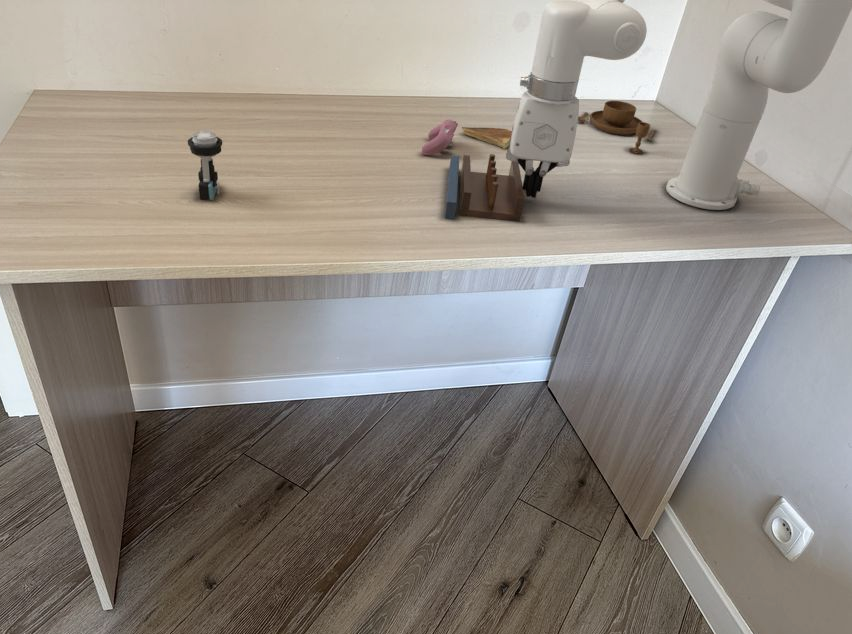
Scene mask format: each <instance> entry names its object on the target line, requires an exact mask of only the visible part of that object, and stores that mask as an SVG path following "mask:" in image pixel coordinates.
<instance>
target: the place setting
mask: <svg viewBox="0 0 852 634" xmlns="http://www.w3.org/2000/svg"><path fill="white" fill-rule="evenodd" d="M636 112H637V107H636V106H635V105H633V104H631V103H629V102H625V101H622V100H608V101H606V102H605V103H604V106H603V109H602V110H595V111H592V112H591V113H590V114H589V113H588V112H584V113H583V114H582V115H581V116H578V122H584V121H585V120H586V118H585V117H586V116H587V115H588V114H589V121H590V123H591V124H592V126H594V127H595V128H596V129H598V130H600V131H602V132H605V133H609V134H613V135H621V136H629V135H634V134H635V136H636V137H637V139H636V142H635V144H634V145H635V147H631V148H629V149H628V151H629V152H630V153H631V154H634V155H635V154H636V155H642V154H643V153H644V151H643V150H642V149H640V146H641V145H642V140H643V139H644V138H645V140H646V141H650V142H653V139H652V137H653V136H654V135H655V132H656V130H655V129H653V130H652V131H651V133H650V135H649V136H648V133H649V131H650V128H651V124H650V123H649V122H646V121H645V122H644V121H643V120H641V119H640V118H638V116H635V115H636ZM647 136H648V137H647ZM646 137H647V138H646Z"/></svg>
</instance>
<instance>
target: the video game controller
mask: <svg viewBox="0 0 852 634" xmlns="http://www.w3.org/2000/svg"><path fill="white" fill-rule="evenodd" d="M458 125H459V123H458V122H457V121H456V120H454V119H450V118H448V119H445V120H444V121H442V122H441V124H439V125H437V126H435V127H433V128H432V129H431V130H430V131H429V132H428V135H427V137H428V139H429V141H428V142H426V143H425V144H424V145H423V146H422V147H421V153H422V154H423V155H424V156H434V155H436V154H438V153H440V154H442V152H444V150H446V149H447V147H448V146H449V147H451V146H454V145H453V144H454V140H453V138H454V136H455V132H456V129H457V128H458Z"/></svg>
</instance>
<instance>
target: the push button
mask: <svg viewBox="0 0 852 634" xmlns="http://www.w3.org/2000/svg"><path fill="white" fill-rule="evenodd" d="M187 145H188V147H189V150H190V153H191V154H193V155H194V156H196V157H198V158H200V168H199V169H200V170H199V171H198V173H197V175H198V181H199V182H198V194H199V195H198V196H199V200H207V201H210V200H211V201H213V200H214V198H215V194H216V192H217V195H219V193H220V185H219V183H217V181H218V179H219V177H218V175H219V174H218V172H217V171H215V165H214V159H213V158H214V157H216V156H217V155H219V154H220V153H221V152H222V146H223V140H222V138H220V137H218V136H217V134H216V133H215V132H213V131H209V130H200V131H196V132H194V133H193V134H192V136H191V137H190V138H189V139H187Z"/></svg>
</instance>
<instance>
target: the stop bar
mask: <svg viewBox="0 0 852 634" xmlns="http://www.w3.org/2000/svg"><path fill="white" fill-rule="evenodd" d="M459 171H460V156H459V155H452V154H451V155H450V161H449V168H448V177H447V187H446V197H445V198H446V200H445V210H444V218H445V219H451V220H455V215H456V212H457V211H456V210H457V204H458V203H457V202H458V191H459V188H458V187H459V173H460V172H459Z"/></svg>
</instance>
